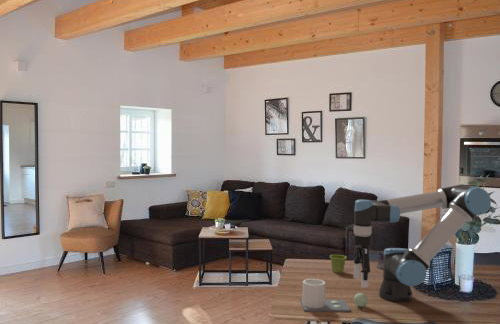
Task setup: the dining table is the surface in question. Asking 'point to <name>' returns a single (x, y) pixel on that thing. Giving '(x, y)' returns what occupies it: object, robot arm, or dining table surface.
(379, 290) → the robot arm
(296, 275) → the dining table surface
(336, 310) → the tube stand
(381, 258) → the geode
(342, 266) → the plant pot
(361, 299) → the sage ball
